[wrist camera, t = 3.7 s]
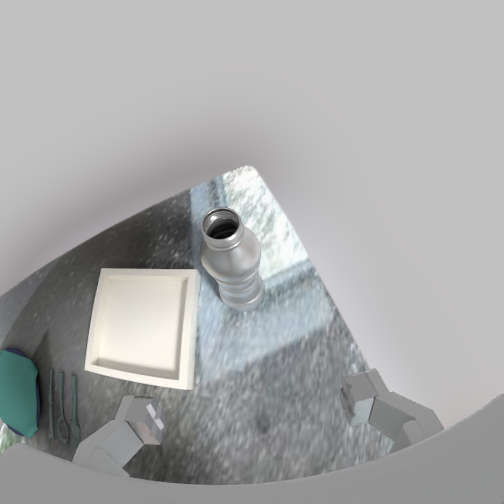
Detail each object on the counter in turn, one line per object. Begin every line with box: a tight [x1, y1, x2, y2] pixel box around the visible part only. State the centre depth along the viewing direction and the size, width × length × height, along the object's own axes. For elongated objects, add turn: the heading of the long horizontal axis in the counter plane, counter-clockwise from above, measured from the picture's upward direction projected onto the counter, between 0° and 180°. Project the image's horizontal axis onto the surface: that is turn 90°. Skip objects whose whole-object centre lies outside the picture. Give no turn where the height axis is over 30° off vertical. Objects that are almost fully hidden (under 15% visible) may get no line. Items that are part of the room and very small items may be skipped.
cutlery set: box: [0, 348, 80, 448], centre depth 33 cm, size 20×30×2 cm, turn 91°
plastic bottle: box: [200, 207, 265, 312], centre depth 33 cm, size 6×7×20 cm
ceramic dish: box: [85, 268, 201, 390], centre depth 39 cm, size 18×18×3 cm
